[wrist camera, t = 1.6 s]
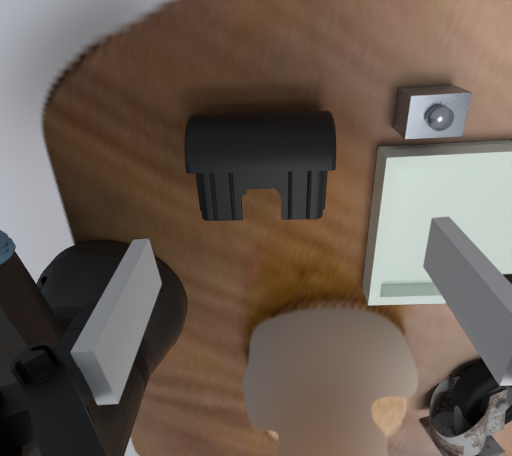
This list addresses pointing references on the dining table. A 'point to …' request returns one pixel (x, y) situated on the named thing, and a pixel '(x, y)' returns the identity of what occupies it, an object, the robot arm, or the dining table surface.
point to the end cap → (261, 160)
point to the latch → (431, 111)
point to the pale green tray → (435, 213)
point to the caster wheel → (469, 413)
